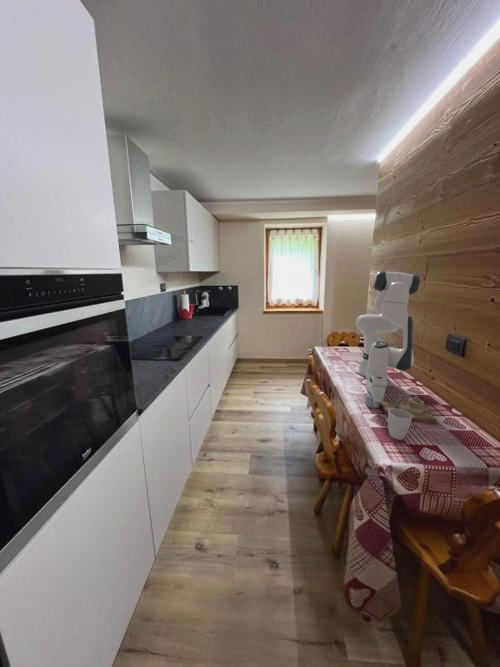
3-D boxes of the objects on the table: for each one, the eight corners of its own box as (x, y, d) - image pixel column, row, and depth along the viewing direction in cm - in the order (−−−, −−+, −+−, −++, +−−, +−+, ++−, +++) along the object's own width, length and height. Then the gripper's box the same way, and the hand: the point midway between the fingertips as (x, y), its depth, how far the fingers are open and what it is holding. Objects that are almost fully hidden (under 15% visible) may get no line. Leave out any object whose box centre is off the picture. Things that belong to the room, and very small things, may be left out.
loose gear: (364, 401, 134) (365, 392, 133) (377, 403, 133) (378, 393, 132) (366, 407, 128) (367, 397, 127) (379, 408, 127) (381, 399, 126)
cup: (413, 440, 103) (417, 417, 101) (396, 443, 101) (400, 420, 99) (396, 428, 111) (400, 407, 109) (380, 431, 109) (384, 409, 106)
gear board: (379, 402, 133) (382, 387, 132) (424, 408, 129) (427, 392, 127) (386, 416, 120) (389, 399, 118) (436, 423, 116) (440, 405, 114)
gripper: (365, 367, 138) (362, 392, 141) (373, 382, 118) (369, 410, 121) (378, 368, 136) (374, 393, 139) (388, 384, 117) (384, 412, 120)
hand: (372, 401), depth 130 cm, fingers closed on loose gear, 6 cm apart
